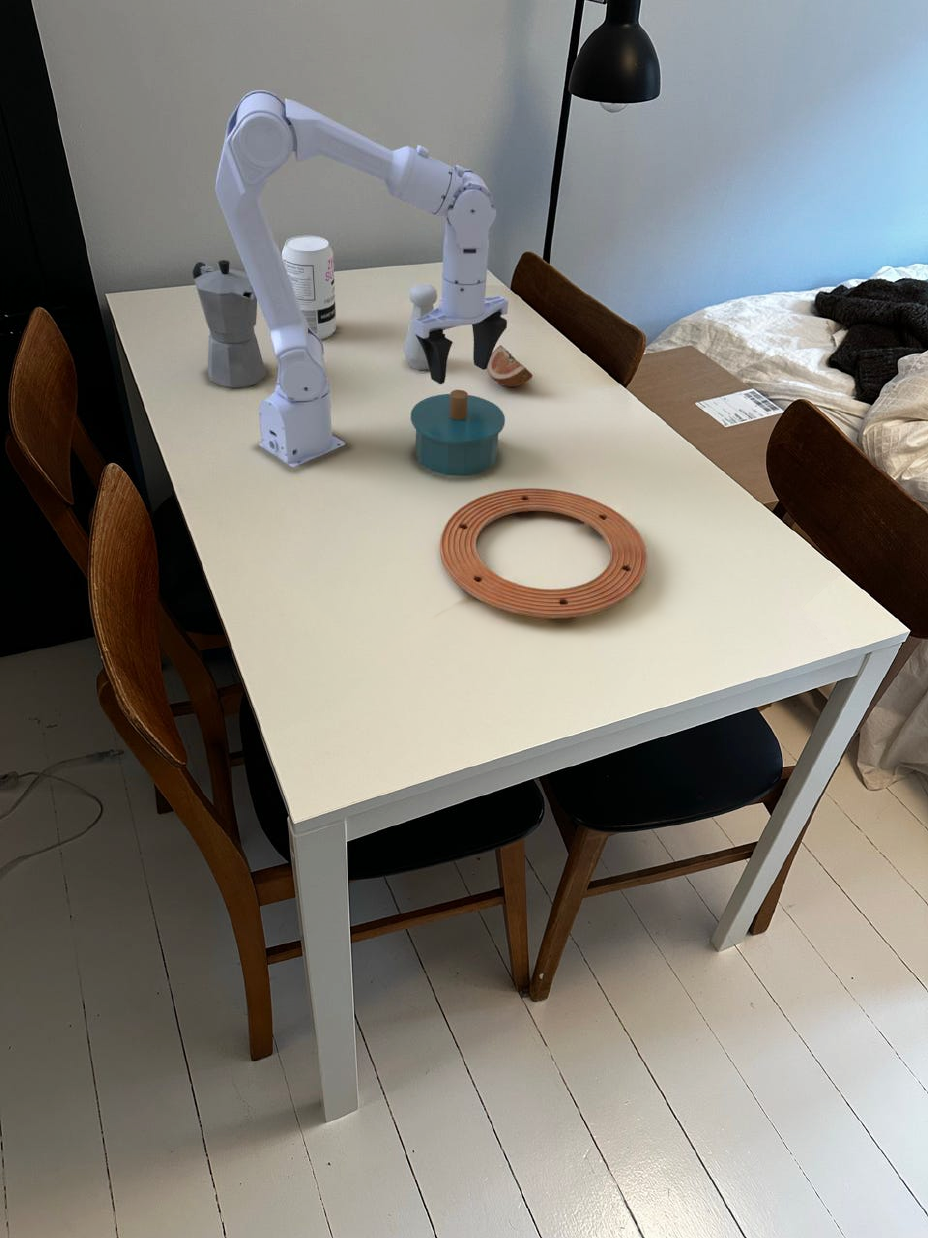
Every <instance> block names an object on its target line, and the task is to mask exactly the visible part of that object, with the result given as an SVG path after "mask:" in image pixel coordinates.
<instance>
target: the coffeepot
mask: <svg viewBox="0 0 928 1238" xmlns="http://www.w3.org/2000/svg"><path fill="white" fill-rule="evenodd" d="M217 263H218V266H219V270H215V268H214V267H213V266H212V265H209V264H208V265H206V264H205V263H204V262H201V261H198V262H196V264H195V265H194V266H193V269H192V277H193V282H194V284H195V288H196V290H197V294H198V298H199V301H200V304H201V308H202V311H203V315H204V319H205V322H206V325H207V328H208V329H209V335H208V347H207V348H208V349H207V350H208V351H207V373H208V377H209V380H210V382H212V383H213V384H215V385H218V386H219V387H224V388H231V389H232V388H234V389H240V388H246V387H250V386H254V385H256V384H258V383H259V382H261V381H263V379H264V378H265V377H266V376H267V372H266V367H265V363H264V361H263V360H264V359H263V357H262V353H261V349H260V346H259V343H258V338H257V335H256V334H255V326H256V325H257V314H258V300H257V298H256V295H255V293H254V290H253V288H252V285H251V283H250V280H249V278H248V275H247V272H246V271H242V270H238V269H234V268H230V261H229V260H226V259H223V260H222V259H221V260H219V261H217Z"/></svg>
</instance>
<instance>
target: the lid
mask: <svg viewBox="0 0 928 1238" xmlns="http://www.w3.org/2000/svg"><path fill="white" fill-rule="evenodd" d="M410 422H411V425H412V426H413V428H414V429H415V431H416V430H417V431H418V432H420V433H421V434H423V435H425V436H426V437H429V438H431V439H434V440H437V441H441V442H446V443H453V444H470V443H477V442H482V441H485V440H488V439H491V438H493V437H494V436H496V435H498V436H499V434H500V433H501V432H502V431H503V429H504V427H505V423H506V417H505V414H504V411H503V410H502V409H501V408H500V407H499V406H497V404H495V403H494V402H491V401H490V400H488V399H485V398H483V397H479V396H475V395H472V394H468V392H467V391H465V390H462V389H454V390H451V392H450V393H444V394H437V395H432V396H429V397H426V398H424V399H422V400H420V401H418V403H416V404H415V405H414V406H413V408H411V411H410Z"/></svg>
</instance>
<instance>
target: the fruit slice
mask: <svg viewBox="0 0 928 1238" xmlns="http://www.w3.org/2000/svg"><path fill="white" fill-rule="evenodd" d="M486 372H487V374H488V375H489V377H490V378H491V379H492V380H493V381H494V382H496V383H497V384H499V385H502V386H506V387H516V386H517V387H518V386H520V385H523V384H526V383H527V382H529V381H530V380H531V379H532V378H533V373H532V372H530V371H529V370H528V369H527V367H525V365H524V364H522V363H521V362H519V360H517V359H516V358H515V357H514V356H513V354H512V353H510V351H508V349H506V348H505V347H504V346H503V345H502V344H499V345H498V346H497V347H496V348H495V349H494V350H493V352H492V355H491V358H490V360H489V363H488V366H487V369H486Z"/></svg>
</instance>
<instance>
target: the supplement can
mask: <svg viewBox="0 0 928 1238" xmlns="http://www.w3.org/2000/svg"><path fill="white" fill-rule="evenodd" d="M281 256H282V259H283V262H284V265H285V268H286V270H287V273H288V276H289V279H290V281H291V284H292V287H293V290H294V292H295V295H296V298H297V301H298V303H299V306H300V309H301V311H302V313H303V314H304V316H305V317H306V320H307V323H308V325H309V327H310V328H311V330H312V331H313V332H314V333H316V334H317V335H318V337H319V338H320V339H321V340H325V339H327V338H329V337H330V336H332V334H333V333H335V332H336V329H337V313H336V312H337V311H336V289H335V286H336V285H335V264H334V251H333V250H332V247H331V246H330V242H329V241H328V240H327V239H325V238H324V237H321V236H316V235H296V236H293V237H290V238H288V239H286V241H285V242H284V246H283V249H282V251H281Z"/></svg>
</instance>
